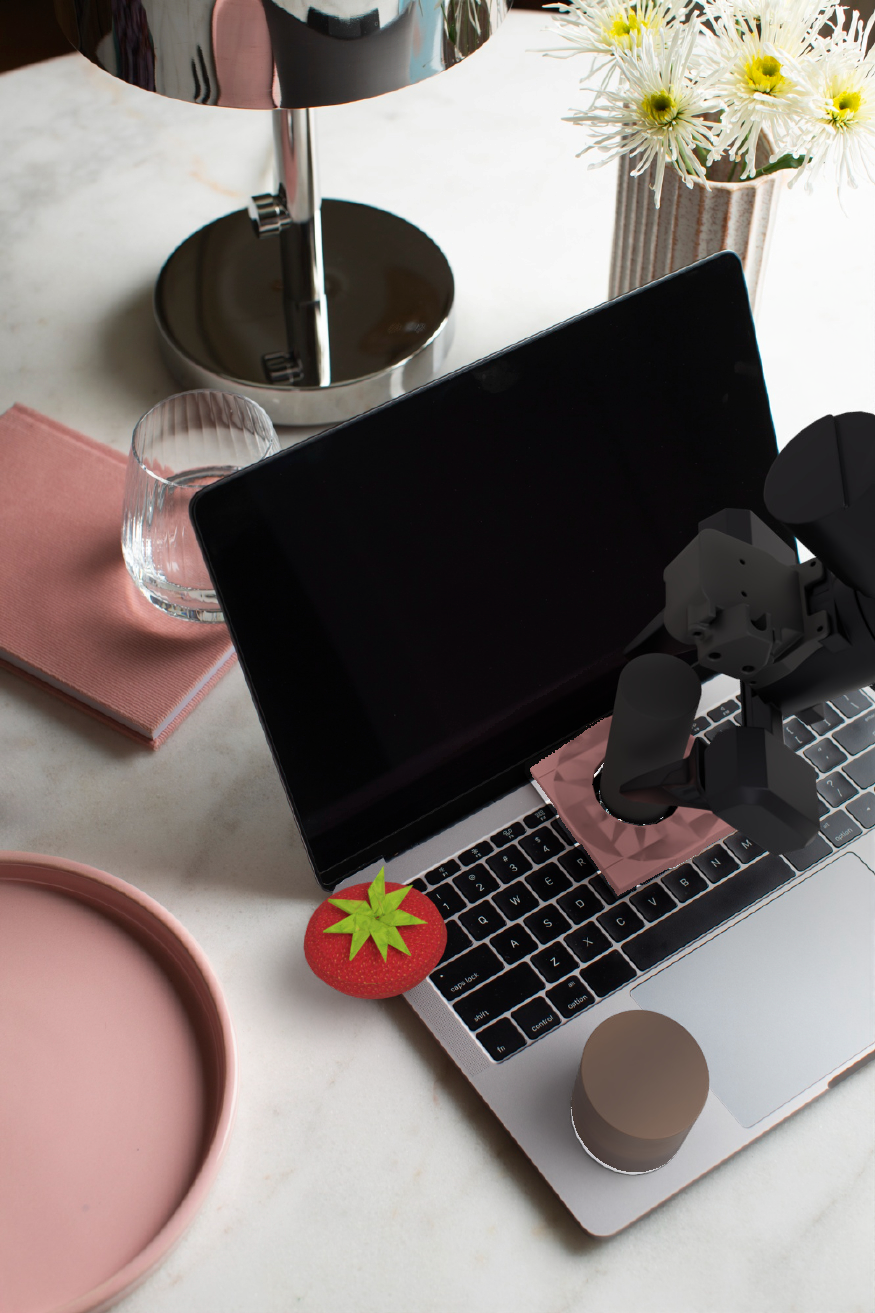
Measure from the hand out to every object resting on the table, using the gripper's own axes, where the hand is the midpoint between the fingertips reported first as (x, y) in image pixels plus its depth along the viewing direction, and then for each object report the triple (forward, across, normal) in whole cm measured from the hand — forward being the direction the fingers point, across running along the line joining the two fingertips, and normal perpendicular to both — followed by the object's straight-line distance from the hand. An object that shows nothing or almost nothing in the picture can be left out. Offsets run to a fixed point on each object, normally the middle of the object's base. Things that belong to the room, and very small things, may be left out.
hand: (625, 723), depth 64 cm
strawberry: (+15, +13, -3) cm, 20 cm away
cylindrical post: (+5, 0, +7) cm, 8 cm away
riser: (+5, +19, +7) cm, 21 cm away
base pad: (+5, 0, +7) cm, 8 cm away
